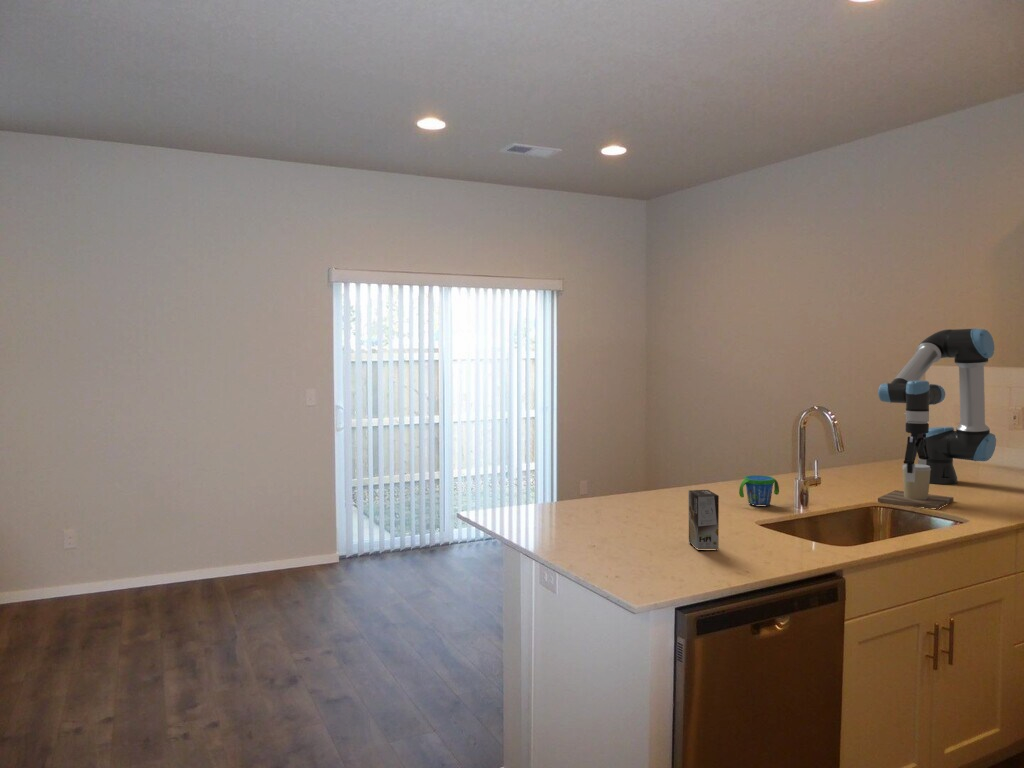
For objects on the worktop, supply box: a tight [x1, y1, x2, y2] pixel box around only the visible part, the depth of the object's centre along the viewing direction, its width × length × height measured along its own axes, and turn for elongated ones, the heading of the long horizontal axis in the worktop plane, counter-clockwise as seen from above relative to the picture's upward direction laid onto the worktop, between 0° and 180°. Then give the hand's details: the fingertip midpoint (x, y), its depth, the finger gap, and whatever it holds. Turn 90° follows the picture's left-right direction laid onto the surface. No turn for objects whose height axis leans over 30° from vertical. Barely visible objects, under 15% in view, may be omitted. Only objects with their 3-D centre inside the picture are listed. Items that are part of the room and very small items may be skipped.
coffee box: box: [688, 489, 720, 550], centre depth 213 cm, size 9×6×16 cm
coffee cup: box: [901, 463, 931, 500], centre depth 271 cm, size 9×9×12 cm
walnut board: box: [877, 489, 955, 510], centre depth 271 cm, size 20×20×2 cm
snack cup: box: [738, 474, 780, 506], centre depth 268 cm, size 16×10×10 cm
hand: (916, 479), depth 271 cm, fingers open, 13 cm apart
